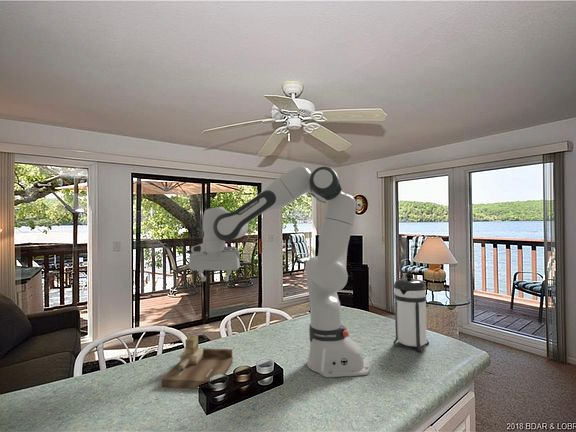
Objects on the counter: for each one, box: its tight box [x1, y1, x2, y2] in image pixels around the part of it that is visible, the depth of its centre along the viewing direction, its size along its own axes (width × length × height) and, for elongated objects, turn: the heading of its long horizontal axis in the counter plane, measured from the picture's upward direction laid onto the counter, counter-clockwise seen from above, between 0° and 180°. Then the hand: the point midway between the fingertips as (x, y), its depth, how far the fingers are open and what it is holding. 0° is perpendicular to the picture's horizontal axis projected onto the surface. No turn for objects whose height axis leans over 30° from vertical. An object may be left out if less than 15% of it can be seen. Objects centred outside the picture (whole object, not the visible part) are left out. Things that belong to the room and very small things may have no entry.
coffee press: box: [392, 272, 430, 353], centre depth 127 cm, size 17×16×30 cm
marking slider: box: [179, 335, 204, 371], centre depth 106 cm, size 6×12×8 cm, turn 174°
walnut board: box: [161, 347, 233, 390], centre depth 104 cm, size 18×18×5 cm
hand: (214, 281), depth 121 cm, fingers open, 8 cm apart
